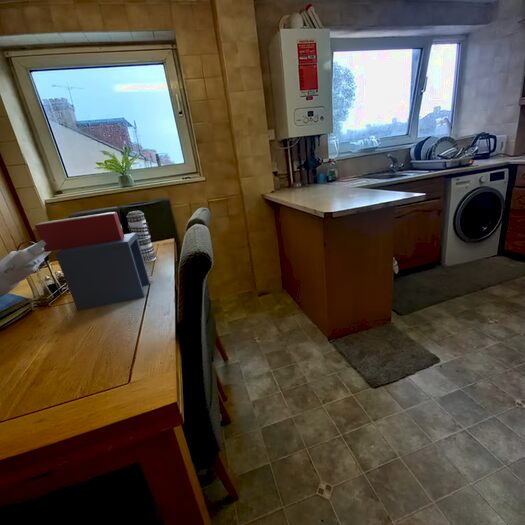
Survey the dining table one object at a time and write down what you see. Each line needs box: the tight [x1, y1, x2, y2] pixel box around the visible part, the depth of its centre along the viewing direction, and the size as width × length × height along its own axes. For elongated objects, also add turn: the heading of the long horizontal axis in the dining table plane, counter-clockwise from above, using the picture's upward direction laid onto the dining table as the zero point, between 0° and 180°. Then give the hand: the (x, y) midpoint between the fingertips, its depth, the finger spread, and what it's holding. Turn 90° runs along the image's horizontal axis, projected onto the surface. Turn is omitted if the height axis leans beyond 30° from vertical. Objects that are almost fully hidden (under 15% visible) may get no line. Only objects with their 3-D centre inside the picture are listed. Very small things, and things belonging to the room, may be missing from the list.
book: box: [34, 211, 124, 252], centre depth 94 cm, size 24×4×9 cm, turn 103°
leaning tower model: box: [126, 210, 157, 264], centre depth 137 cm, size 9×9×25 cm
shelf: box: [54, 232, 151, 311], centre depth 100 cm, size 22×14×21 cm, turn 103°
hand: (51, 238), depth 93 cm, fingers open, 8 cm apart
